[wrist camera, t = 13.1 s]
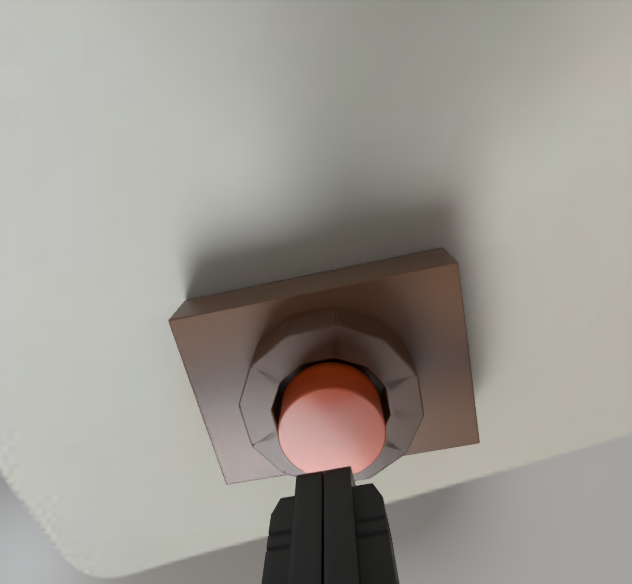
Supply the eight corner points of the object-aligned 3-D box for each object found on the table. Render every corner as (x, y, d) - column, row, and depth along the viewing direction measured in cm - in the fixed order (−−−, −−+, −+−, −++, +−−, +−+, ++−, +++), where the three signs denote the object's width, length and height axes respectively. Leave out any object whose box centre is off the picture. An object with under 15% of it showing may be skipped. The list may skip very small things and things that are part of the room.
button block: (464, 412, 21) (496, 475, 17) (235, 451, 22) (216, 519, 18) (443, 247, 18) (474, 276, 14) (184, 299, 19) (149, 340, 15)
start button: (387, 436, 17) (394, 469, 15) (294, 452, 17) (291, 486, 15) (370, 352, 16) (376, 378, 14) (271, 371, 16) (265, 398, 14)
